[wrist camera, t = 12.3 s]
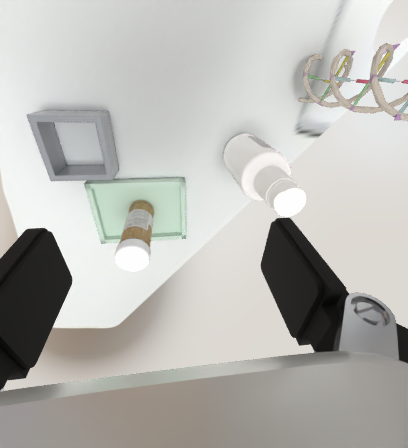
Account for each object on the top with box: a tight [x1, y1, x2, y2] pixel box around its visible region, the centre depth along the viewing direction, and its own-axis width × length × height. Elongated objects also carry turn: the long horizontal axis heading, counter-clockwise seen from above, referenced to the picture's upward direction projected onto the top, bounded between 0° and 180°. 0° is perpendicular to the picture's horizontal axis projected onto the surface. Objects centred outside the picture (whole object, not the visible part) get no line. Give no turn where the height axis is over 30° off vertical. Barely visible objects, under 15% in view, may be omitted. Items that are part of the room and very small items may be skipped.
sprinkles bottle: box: [115, 200, 154, 271], centre depth 35 cm, size 5×5×13 cm
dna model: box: [299, 43, 408, 121], centre depth 21 cm, size 7×6×30 cm
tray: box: [84, 178, 186, 244], centre depth 40 cm, size 12×16×2 cm
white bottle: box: [223, 133, 306, 217], centre depth 31 cm, size 7×7×18 cm
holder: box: [27, 110, 119, 181], centre depth 32 cm, size 9×9×4 cm
